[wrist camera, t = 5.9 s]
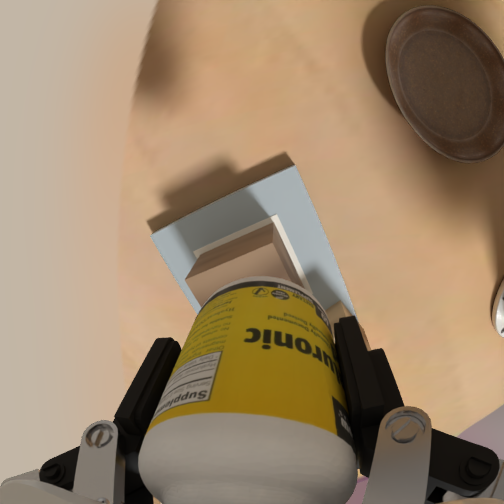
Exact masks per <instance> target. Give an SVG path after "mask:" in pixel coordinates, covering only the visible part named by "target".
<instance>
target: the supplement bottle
mask: <svg viewBox="0 0 504 504" xmlns="http://www.w3.org/2000/svg"><path fill="white" fill-rule="evenodd" d="M138 467H139V472H140V476H141V478H142V480H143V483H144V484H145V486H146V488H147V489H148V490H149V492H150V493H151V494H152V495H153V496H154V497H155V498H156V499H157V500H159V501H160V502H161V503H162V504H345V503H346V502H347V501H348V500H349V498H350V497H351V495H352V494H353V492H354V489H355V486H356V483H357V476H358V471H357V460H356V448H355V444H354V440H353V434H352V430H351V424H350V418H349V412H348V407H347V402H346V396H345V392H344V386H343V381H342V376H341V370H340V366H339V361H338V356H337V352H336V348H335V343H334V337H333V333H332V329H331V325H330V323H329V320H328V317H327V315H326V312H325V310H324V309H323V307H322V306H321V304H320V303H319V302H318V300H317V299H316V298H315V297H314V296H313V295H312V294H311V293H309V292H308V291H307V290H305V289H304V288H302V287H301V286H299V285H297V284H295V283H292V282H290V281H287V280H284V279H280V278H275V277H268V276H254V277H247V278H242V279H239V280H236V281H233V282H231V283H229V284H227V285H225V286H223V287H221V288H220V289H218V290H217V291H216V292H214V293H213V294H212V295H211V296H210V297H209V298H208V300H207V301H206V302H205V303H204V305H203V306H202V308H201V310H200V311H199V313H198V315H197V317H196V319H195V322H194V324H193V326H192V328H191V330H190V333H189V335H188V337H187V339H186V342H185V344H184V346H183V349H182V351H181V353H180V355H179V358H178V360H177V362H176V364H175V367H174V369H173V371H172V374H171V376H170V379H169V381H168V383H167V385H166V388H165V390H164V392H163V395H162V397H161V400H160V402H159V404H158V407H157V409H156V411H155V414H154V416H153V418H152V420H151V423H150V425H149V428H148V430H147V432H146V435H145V437H144V440H143V443H142V446H141V449H140V453H139V457H138Z"/></svg>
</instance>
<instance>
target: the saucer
mask: <svg viewBox="0 0 504 504" xmlns="http://www.w3.org/2000/svg"><path fill="white" fill-rule="evenodd" d="M385 60H386V70H387V75H388V80H389V83H390V87H391V90H392V93H393V96H394V98H395V100H396V102H397V104H398V106H399V108H400V110H401V112H402V114H403V115H404V117H405V119H406V120H407V121H408V123H409V124H410V126H411V127H412V128H413V129H414V131H415V132H416V133H417V134H418V135H419V136H420V138H421V139H422V140H423V141H424V142H425V143H427V144H428V145H429V146H430V147H431V148H433V149H434V150H435V151H437V152H438V153H440V154H441V155H443V156H445V157H447V158H450V159H452V160H455V161H458V162H464V163H477V162H482V161H485V160H487V159H489V158H491V157H493V156H494V155H495V154H497V153H498V152H499V151H500V150H501V149H502V147H503V146H504V59H503V57H502V55H501V53H500V52H499V50H498V49H497V47H496V46H495V44H494V43H493V42H492V40H491V39H490V38H489V37H488V36H487V35H486V33H485V32H483V31H482V29H480V28H479V27H478V26H477V25H476V24H475V23H473V22H472V21H471V20H470V19H468V18H466V17H465V16H463V15H461V14H460V13H458V12H455V11H453V10H451V9H448V8H444V7H440V6H433V5H425V6H419V7H415V8H412V9H410V10H408V11H406V12H405V13H403V14H402V15H401V16H400V17H399V18H398V19H397V20H396V21H395V23H394V24H393V26H392V28H391V30H390V32H389V34H388V38H387V42H386V52H385Z"/></svg>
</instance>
